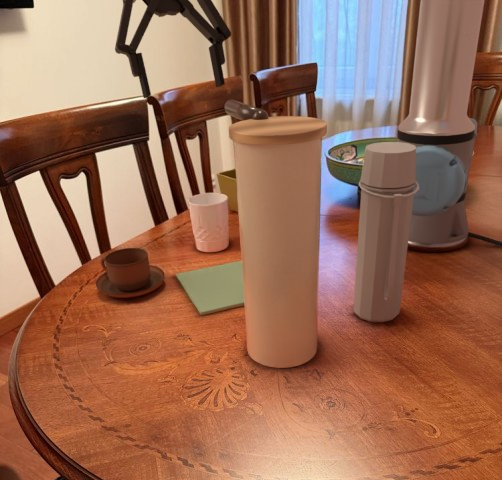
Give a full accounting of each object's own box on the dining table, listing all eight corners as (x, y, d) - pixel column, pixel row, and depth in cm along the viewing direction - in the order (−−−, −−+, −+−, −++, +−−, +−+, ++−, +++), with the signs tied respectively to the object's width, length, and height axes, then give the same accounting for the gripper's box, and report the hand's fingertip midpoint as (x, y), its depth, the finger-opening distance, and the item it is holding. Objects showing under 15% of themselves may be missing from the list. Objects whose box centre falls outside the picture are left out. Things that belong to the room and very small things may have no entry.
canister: (323, 333, 77) (329, 126, 61) (308, 372, 69) (311, 145, 53) (259, 325, 80) (249, 125, 64) (237, 362, 72) (220, 143, 56)
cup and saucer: (87, 303, 88) (79, 270, 85) (112, 273, 98) (106, 242, 95) (154, 305, 87) (149, 271, 83) (173, 274, 97) (169, 242, 94)
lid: (345, 136, 56) (346, 116, 55) (250, 150, 53) (249, 129, 52) (266, 110, 73) (266, 94, 72) (191, 119, 70) (189, 103, 69)
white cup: (226, 254, 103) (222, 205, 98) (188, 253, 105) (182, 204, 100) (235, 239, 110) (231, 192, 104) (199, 238, 111) (194, 192, 106)
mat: (291, 294, 88) (291, 291, 87) (201, 315, 83) (200, 312, 83) (255, 260, 100) (255, 257, 100) (175, 276, 96) (175, 273, 95)
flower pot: (240, 218, 121) (238, 179, 116) (218, 210, 127) (215, 172, 122) (269, 209, 125) (268, 171, 120) (246, 201, 131) (244, 165, 126)
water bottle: (345, 304, 84) (354, 143, 71) (393, 300, 84) (411, 139, 71) (360, 334, 76) (373, 159, 63) (412, 329, 76) (437, 154, 63)
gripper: (218, -46, 91) (241, 85, 98) (76, -36, 84) (111, 105, 91) (233, -65, 85) (257, 77, 92) (80, -56, 77) (118, 97, 84)
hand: (184, 91), depth 91 cm, fingers open, 13 cm apart
